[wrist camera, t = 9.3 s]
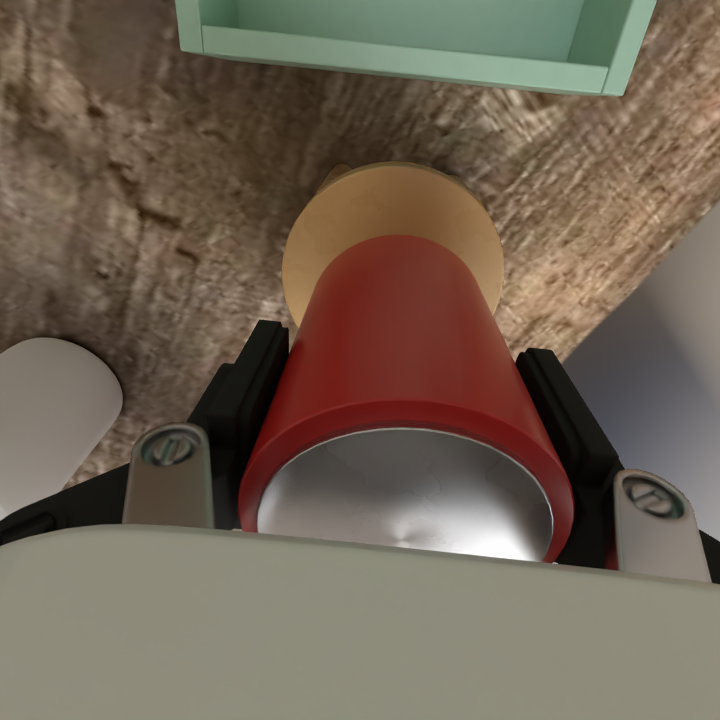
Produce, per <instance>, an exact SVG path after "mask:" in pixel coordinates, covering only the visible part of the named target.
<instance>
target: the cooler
mask: <svg viewBox="0 0 720 720" xmlns="http://www.w3.org/2000/svg"><path fill="white" fill-rule="evenodd" d="M656 1H657V0H175V5H176V14H177V22H178V31H179V40H180V49H181V51H184V52H189V53H194V54H199V55H205V56H210V57H215V58H220V59H225V60H232V61H242V62H252V63H262V64H271V65H281V66H291V67H301V68H311V69H320V70H330V71H340V72H350V73H359V74H369V75H379V76H389V77H398V78H408V79H418V80H428V81H437V82H447V83H457V84H467V85H476V86H486V87H496V88H506V89H515V90H525V91H535V92H545V93H554V94H564V95H594V96H622V95H623V94H624V91H625V89H626V86H627V83H628V80H629V77H630V75H631V72H632V69H633V66H634V63H635V60H636V58H637V55H638V52H639V49H640V46H641V44H642V41H643V38H644V35H645V32H646V30H647V27H648V24H649V21H650V18H651V16H652V13H653V10H654V7H655V4H656Z"/></svg>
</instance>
